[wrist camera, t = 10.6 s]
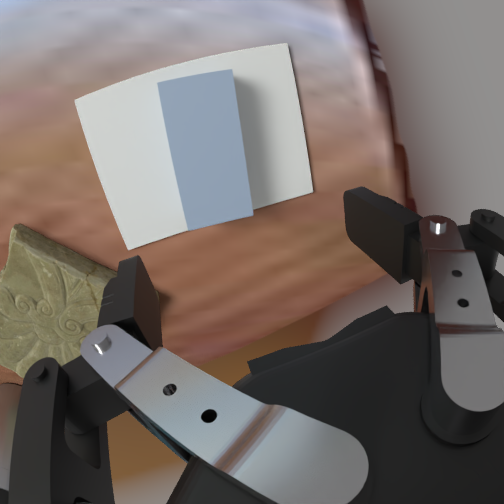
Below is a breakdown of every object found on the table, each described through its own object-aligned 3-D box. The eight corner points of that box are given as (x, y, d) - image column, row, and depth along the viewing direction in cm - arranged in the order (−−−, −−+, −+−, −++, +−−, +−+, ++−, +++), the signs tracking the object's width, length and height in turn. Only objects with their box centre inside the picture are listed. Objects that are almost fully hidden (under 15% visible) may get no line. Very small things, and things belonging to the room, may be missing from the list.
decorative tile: (161, 290, 33) (162, 310, 30) (98, 390, 38) (96, 410, 35) (9, 209, 25) (-5, 223, 22) (-20, 337, 29) (-28, 355, 26)
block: (157, 84, 23) (156, 82, 20) (222, 72, 24) (232, 69, 21) (184, 213, 29) (188, 231, 26) (241, 199, 30) (253, 215, 27)
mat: (128, 247, 30) (128, 250, 29) (76, 99, 22) (74, 100, 21) (310, 190, 32) (313, 192, 32) (284, 43, 24) (287, 43, 24)
